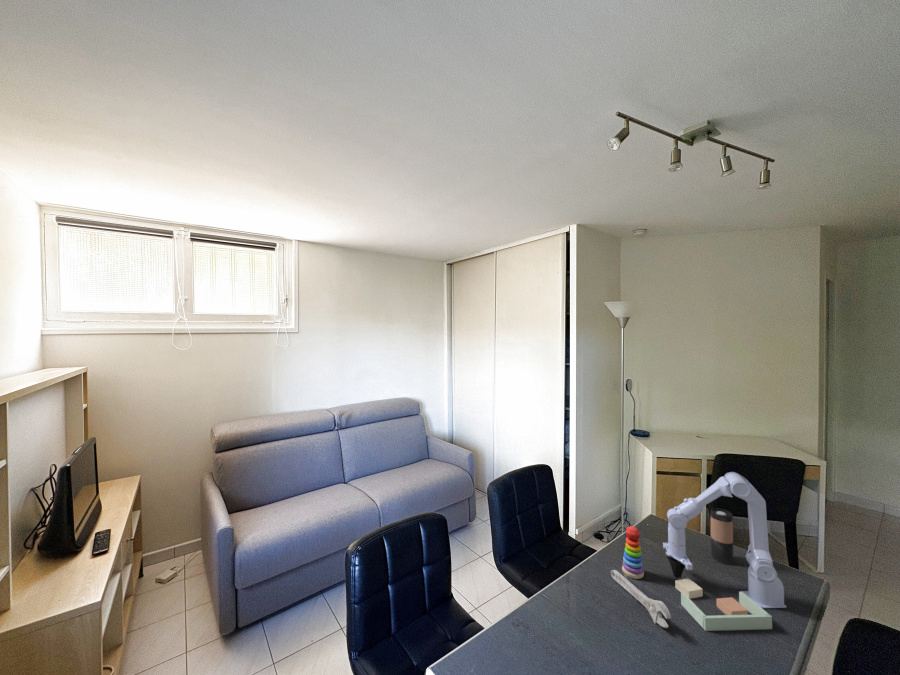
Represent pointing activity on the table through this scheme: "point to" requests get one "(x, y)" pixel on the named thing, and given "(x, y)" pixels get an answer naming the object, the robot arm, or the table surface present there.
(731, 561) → the travel mug
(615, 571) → the wrench
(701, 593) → the sand tile
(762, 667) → the table surface
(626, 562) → the stacking toy
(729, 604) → the terracotta tile
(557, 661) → the table surface
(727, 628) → the box
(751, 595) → the robot arm
